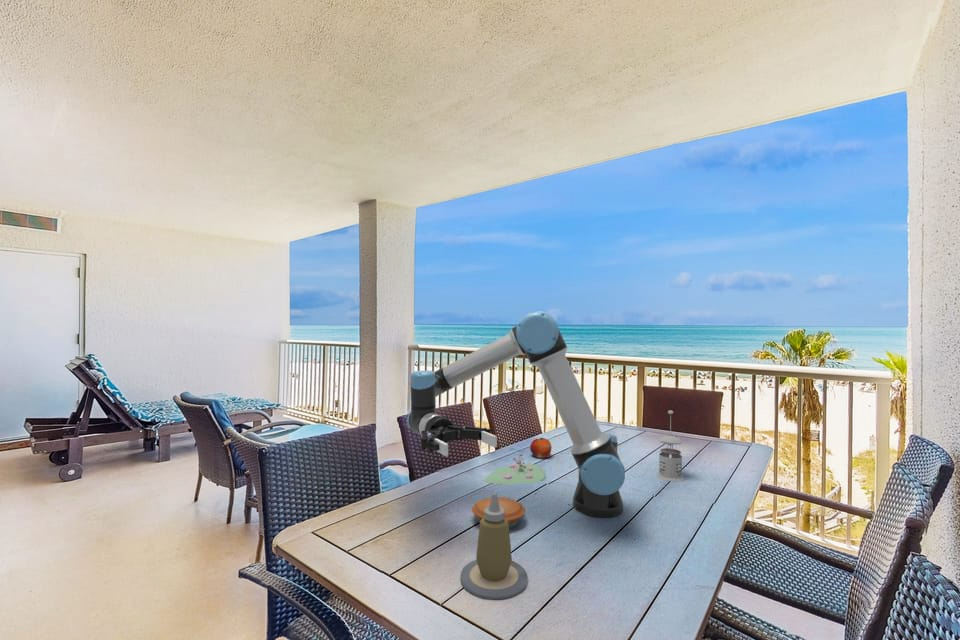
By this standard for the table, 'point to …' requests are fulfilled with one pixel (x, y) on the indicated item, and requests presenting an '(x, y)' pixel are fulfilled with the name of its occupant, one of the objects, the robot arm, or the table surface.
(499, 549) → the squeeze bottle
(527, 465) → the plant
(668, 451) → the french press
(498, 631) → the table surface
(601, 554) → the table surface
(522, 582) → the coaster
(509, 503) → the pie
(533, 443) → the tomato
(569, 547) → the table surface
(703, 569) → the table surface
